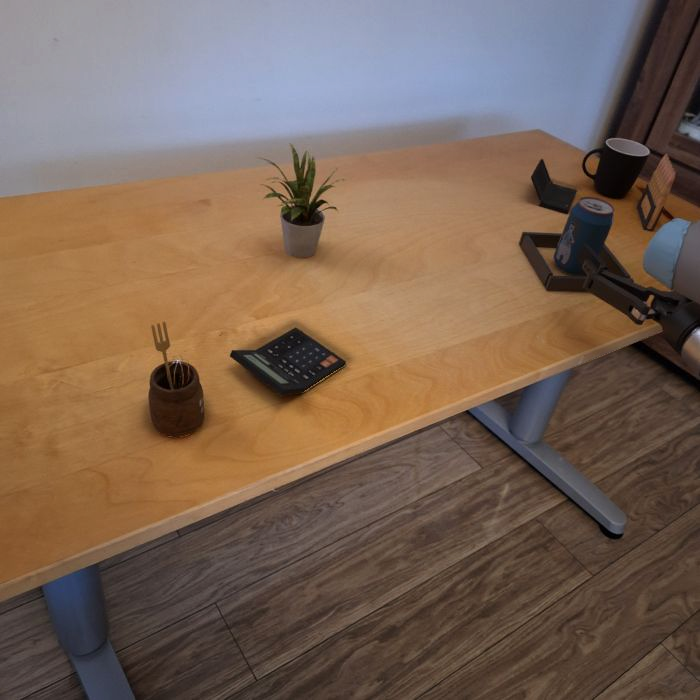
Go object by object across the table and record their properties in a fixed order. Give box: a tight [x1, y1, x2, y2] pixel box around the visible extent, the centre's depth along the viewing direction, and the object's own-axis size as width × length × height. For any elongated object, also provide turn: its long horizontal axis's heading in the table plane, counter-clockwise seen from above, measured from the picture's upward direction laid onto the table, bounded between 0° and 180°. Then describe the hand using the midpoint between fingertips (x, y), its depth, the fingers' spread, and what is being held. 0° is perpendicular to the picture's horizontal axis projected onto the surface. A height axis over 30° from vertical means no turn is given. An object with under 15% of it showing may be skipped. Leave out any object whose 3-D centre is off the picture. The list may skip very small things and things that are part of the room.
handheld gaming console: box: [530, 158, 578, 215], centre depth 127 cm, size 12×7×10 cm
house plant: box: [256, 143, 348, 259], centre depth 97 cm, size 14×14×16 cm
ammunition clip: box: [636, 153, 676, 232], centre depth 122 cm, size 11×2×12 cm, turn 167°
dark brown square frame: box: [518, 231, 635, 293], centre depth 107 cm, size 15×15×2 cm
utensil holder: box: [147, 320, 205, 438], centre depth 67 cm, size 6×6×12 cm
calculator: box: [229, 327, 347, 397], centre depth 79 cm, size 9×12×3 cm
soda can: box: [553, 196, 615, 276], centre depth 104 cm, size 7×7×12 cm
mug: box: [581, 137, 651, 199], centre depth 131 cm, size 12×9×10 cm
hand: (620, 250), depth 94 cm, fingers open, 13 cm apart
